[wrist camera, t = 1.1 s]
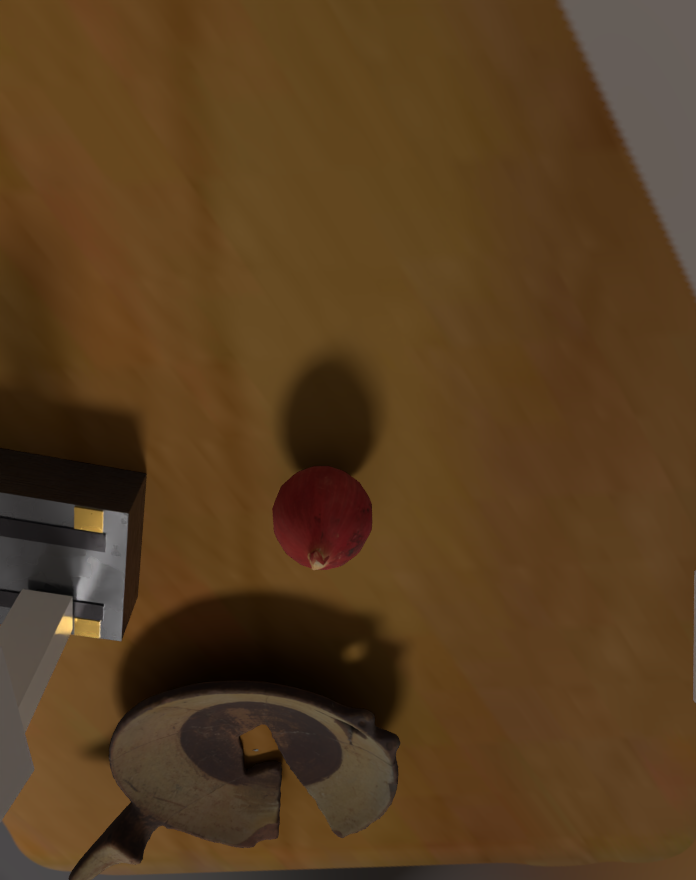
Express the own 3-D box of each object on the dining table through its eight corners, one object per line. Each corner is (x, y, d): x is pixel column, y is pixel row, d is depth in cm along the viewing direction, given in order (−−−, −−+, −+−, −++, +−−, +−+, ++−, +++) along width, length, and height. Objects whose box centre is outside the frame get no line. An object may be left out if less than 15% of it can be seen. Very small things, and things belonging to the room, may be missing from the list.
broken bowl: (423, 777, 58) (433, 869, 52) (118, 820, 62) (92, 912, 55) (372, 610, 47) (377, 701, 40) (0, 674, 50) (-50, 768, 44)
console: (-108, 429, 38) (-153, 468, 35) (146, 473, 40) (128, 514, 36) (-84, 563, 44) (-121, 608, 40) (137, 596, 46) (120, 642, 42)
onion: (384, 458, 40) (393, 544, 33) (349, 525, 42) (351, 617, 36) (295, 428, 38) (285, 511, 32) (266, 499, 41) (251, 590, 34)
